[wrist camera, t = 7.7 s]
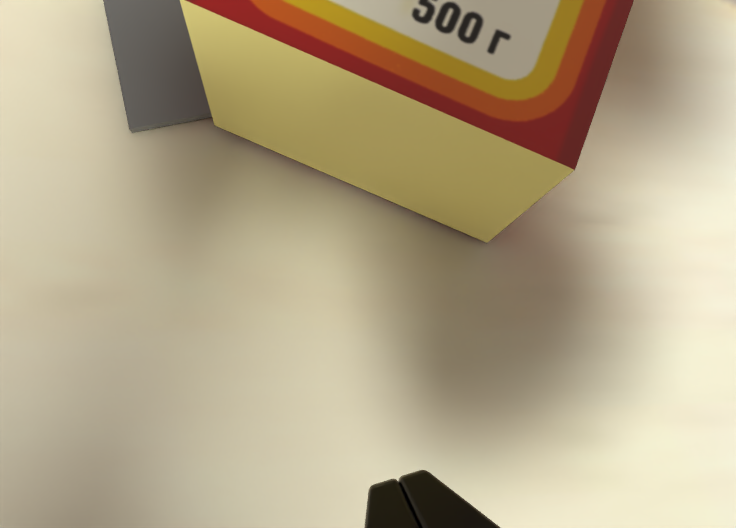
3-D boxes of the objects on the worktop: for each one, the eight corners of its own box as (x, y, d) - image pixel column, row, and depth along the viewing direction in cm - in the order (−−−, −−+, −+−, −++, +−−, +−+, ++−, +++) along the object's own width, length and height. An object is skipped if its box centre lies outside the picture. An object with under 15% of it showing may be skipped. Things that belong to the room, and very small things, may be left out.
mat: (371, 85, 21) (372, 80, 21) (132, 132, 20) (129, 129, 20) (322, -91, 23) (322, -98, 22) (94, -55, 22) (90, -61, 21)
